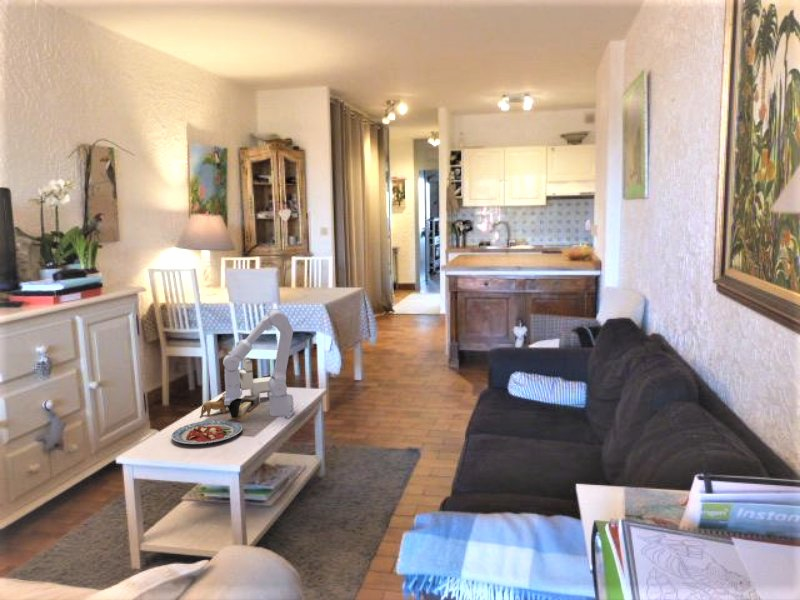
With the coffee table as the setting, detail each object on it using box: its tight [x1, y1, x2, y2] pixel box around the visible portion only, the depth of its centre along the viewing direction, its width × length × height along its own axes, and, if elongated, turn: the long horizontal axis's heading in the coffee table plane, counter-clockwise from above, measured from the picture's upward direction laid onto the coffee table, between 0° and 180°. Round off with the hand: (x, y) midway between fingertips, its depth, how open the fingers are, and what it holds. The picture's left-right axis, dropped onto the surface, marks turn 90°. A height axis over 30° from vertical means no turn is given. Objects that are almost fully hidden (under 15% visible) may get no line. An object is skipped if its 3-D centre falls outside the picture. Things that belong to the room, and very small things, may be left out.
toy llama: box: [238, 357, 272, 404], centre depth 276 cm, size 8×18×20 cm, turn 115°
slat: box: [238, 402, 252, 416], centre depth 261 cm, size 3×12×2 cm, turn 174°
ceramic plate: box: [171, 419, 243, 445], centre depth 235 cm, size 26×26×3 cm
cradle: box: [223, 395, 263, 422], centre depth 261 cm, size 9×22×4 cm, turn 174°
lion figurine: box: [198, 392, 228, 419], centre depth 258 cm, size 15×5×9 cm, turn 130°
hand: (234, 417), depth 251 cm, fingers closed
